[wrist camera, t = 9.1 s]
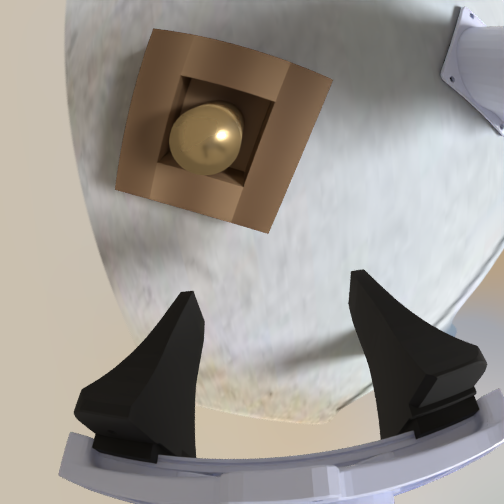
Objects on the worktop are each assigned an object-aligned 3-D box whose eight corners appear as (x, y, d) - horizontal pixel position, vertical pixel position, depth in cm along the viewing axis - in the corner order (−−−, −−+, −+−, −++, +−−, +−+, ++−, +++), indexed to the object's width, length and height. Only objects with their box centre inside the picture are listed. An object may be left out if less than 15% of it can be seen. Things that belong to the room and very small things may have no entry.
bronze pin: (247, 103, 16) (246, 111, 11) (240, 150, 18) (235, 179, 13) (197, 97, 16) (173, 103, 11) (191, 144, 18) (167, 171, 13)
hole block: (318, 80, 16) (333, 80, 13) (265, 209, 21) (268, 233, 18) (170, 37, 14) (153, 28, 11) (134, 171, 19) (114, 189, 16)
